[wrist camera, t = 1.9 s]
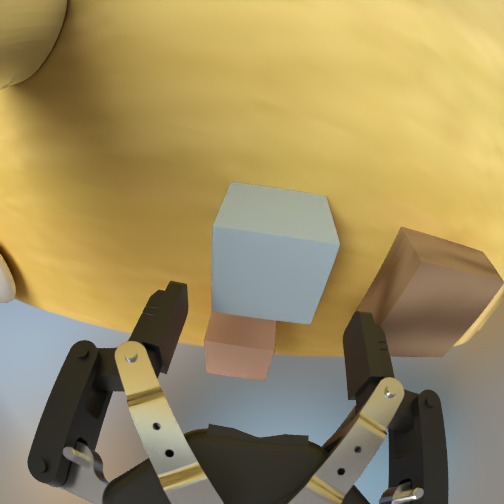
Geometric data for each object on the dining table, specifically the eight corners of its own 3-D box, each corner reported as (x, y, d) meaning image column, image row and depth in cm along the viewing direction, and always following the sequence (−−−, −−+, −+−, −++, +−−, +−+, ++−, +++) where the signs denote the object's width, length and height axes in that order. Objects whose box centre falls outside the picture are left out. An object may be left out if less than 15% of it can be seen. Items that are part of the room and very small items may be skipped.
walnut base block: (399, 224, 16) (421, 261, 13) (481, 249, 16) (504, 282, 13) (351, 314, 22) (358, 354, 18) (430, 323, 22) (442, 356, 19)
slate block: (232, 181, 16) (212, 226, 12) (325, 195, 15) (340, 244, 12) (226, 255, 19) (211, 311, 15) (306, 267, 19) (310, 324, 15)
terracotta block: (218, 286, 21) (204, 340, 17) (277, 295, 21) (274, 350, 17) (217, 322, 23) (206, 371, 19) (269, 330, 23) (265, 380, 19)
